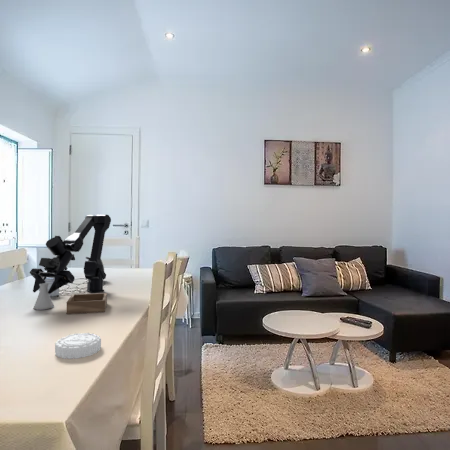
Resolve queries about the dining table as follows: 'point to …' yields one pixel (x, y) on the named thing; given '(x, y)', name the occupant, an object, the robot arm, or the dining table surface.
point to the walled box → (86, 303)
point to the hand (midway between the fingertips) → (41, 292)
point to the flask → (43, 298)
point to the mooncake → (77, 345)
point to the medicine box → (50, 282)
